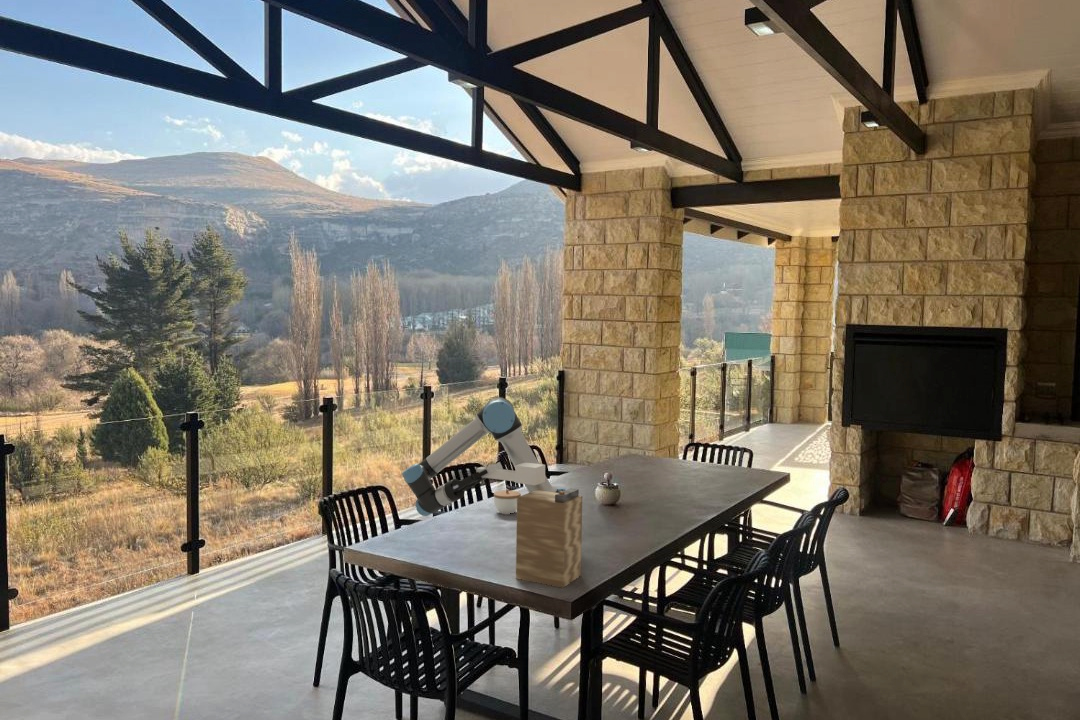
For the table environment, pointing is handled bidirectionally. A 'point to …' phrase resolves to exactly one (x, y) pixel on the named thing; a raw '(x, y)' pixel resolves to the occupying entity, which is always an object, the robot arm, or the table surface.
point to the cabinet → (549, 537)
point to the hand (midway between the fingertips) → (497, 466)
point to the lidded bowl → (506, 501)
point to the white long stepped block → (520, 474)
